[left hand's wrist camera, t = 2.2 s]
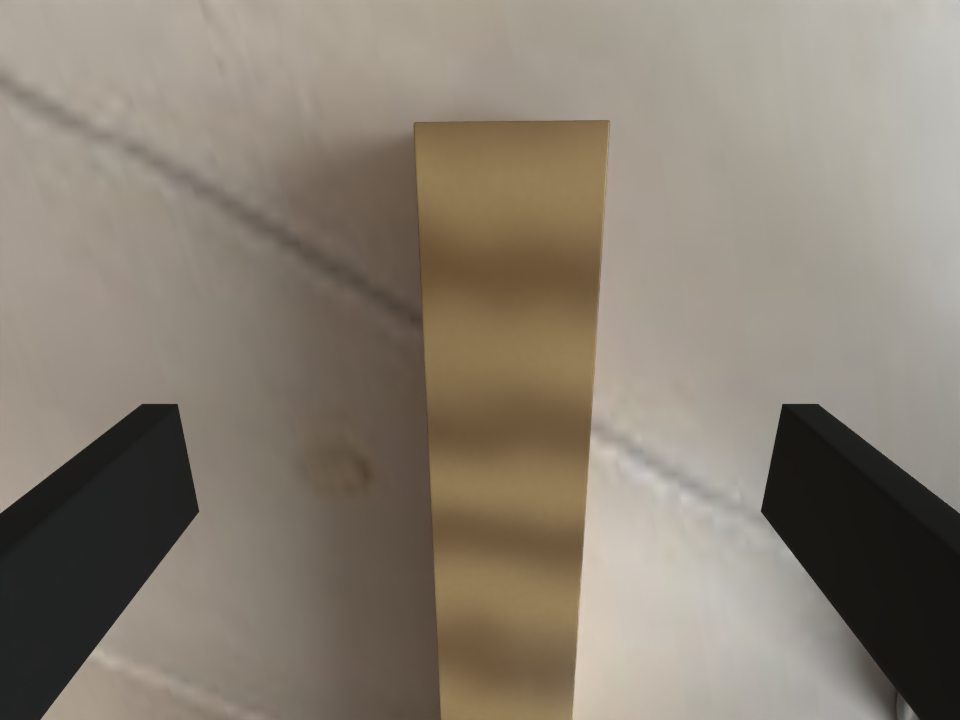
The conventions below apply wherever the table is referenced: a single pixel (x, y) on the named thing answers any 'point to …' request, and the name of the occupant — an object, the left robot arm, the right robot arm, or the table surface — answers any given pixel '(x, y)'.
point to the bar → (509, 400)
